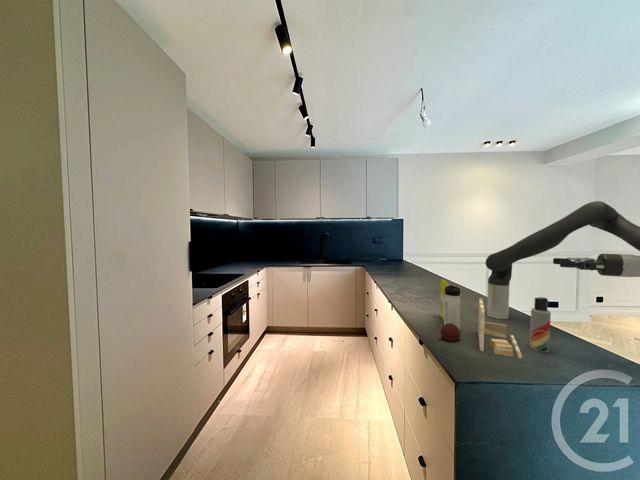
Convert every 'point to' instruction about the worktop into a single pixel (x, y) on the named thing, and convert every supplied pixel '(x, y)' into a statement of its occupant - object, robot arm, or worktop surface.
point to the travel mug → (452, 305)
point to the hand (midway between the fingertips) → (556, 262)
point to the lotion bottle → (540, 325)
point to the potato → (450, 332)
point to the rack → (492, 330)
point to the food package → (442, 297)
